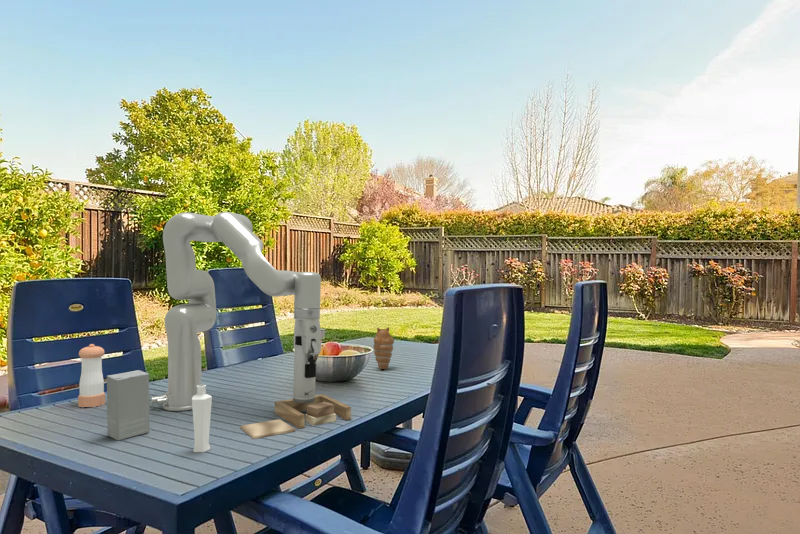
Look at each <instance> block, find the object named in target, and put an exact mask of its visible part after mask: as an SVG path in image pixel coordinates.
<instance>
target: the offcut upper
mask: <svg viewBox="0 0 800 534" xmlns="http://www.w3.org/2000/svg"><path fill="white" fill-rule="evenodd" d="M333 413H334V404H331V403H327V402H321V403H317V404H313V405H309V406H307V410H306V414H307V415H309V416H312V417H315V418H319V417H322V416H326V415H330V414H333Z"/></svg>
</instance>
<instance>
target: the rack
mask: <svg viewBox="0 0 800 534" xmlns="http://www.w3.org/2000/svg"><path fill="white" fill-rule="evenodd" d="M321 402H327V403H331V404H334V413H335V414H336V416H337V415H338V416H337V417H339V416H340V417H339V418H340V419H342V420H345V421H349V419H350V420H352V407H351V406H350V405H348V404H346V403H344V402H341V401H339V400H337V399H335V398H332V397H330V396H328V395H325V394H315V401H314V402H312V403H306V404H301V403H296V402H294V401H293V398H292V399H290V398H289V399H282V400H278V401H277V400H276V401H274V414H275V415H277V416H278V417H280V418H281V419H283V421H284V420H285V421H286V422H288V423H289V424H291V425H292V426H294V427H295V428H297V429H298V430H300V428H301V429H305V426H306V425H305V423H306V414H305V413H302V410H303V411H307V406H309V405H313V404H317V403H321Z"/></svg>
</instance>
